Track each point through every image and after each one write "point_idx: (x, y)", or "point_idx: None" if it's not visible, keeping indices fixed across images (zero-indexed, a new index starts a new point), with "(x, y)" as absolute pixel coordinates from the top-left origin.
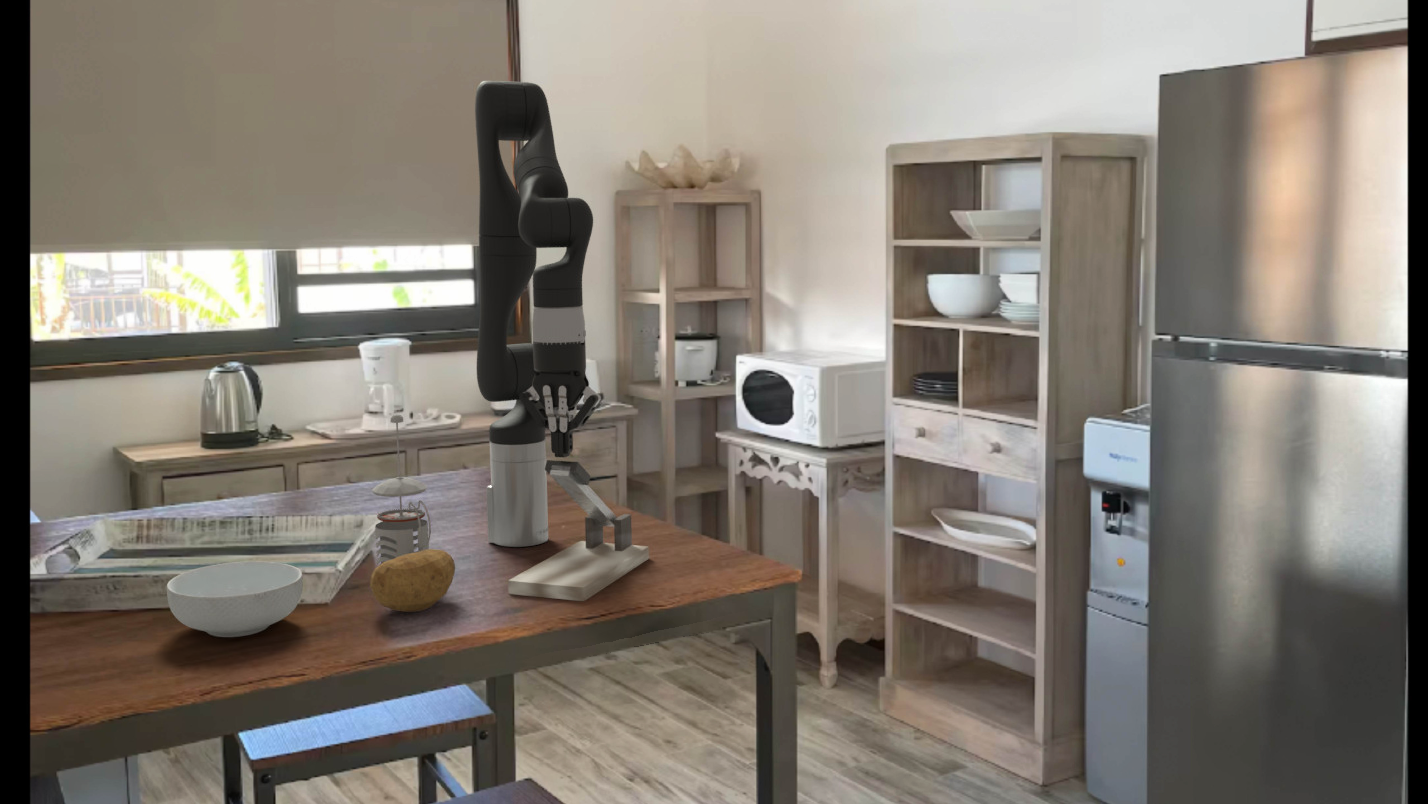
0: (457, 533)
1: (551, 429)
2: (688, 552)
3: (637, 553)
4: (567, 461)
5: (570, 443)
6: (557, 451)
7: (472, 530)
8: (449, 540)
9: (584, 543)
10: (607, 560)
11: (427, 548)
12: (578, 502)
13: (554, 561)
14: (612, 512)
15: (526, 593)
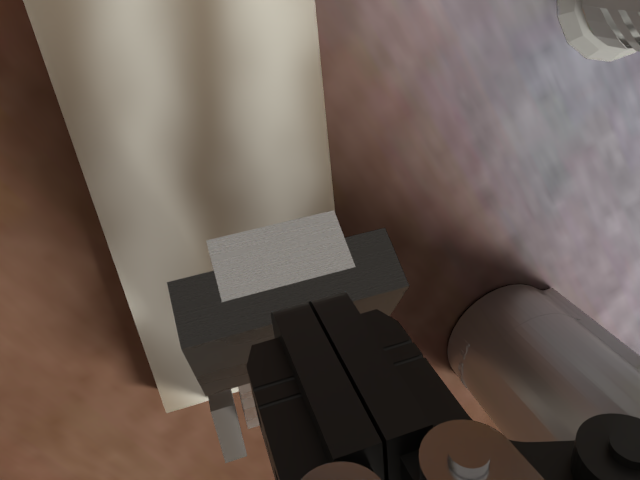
0: (630, 304)
1: (472, 437)
2: (115, 469)
3: (147, 357)
4: (262, 324)
5: (263, 430)
6: (332, 317)
7: (611, 333)
8: (628, 261)
9: None
10: (174, 270)
11: (633, 6)
12: None
13: (302, 190)
14: (246, 421)
15: None
